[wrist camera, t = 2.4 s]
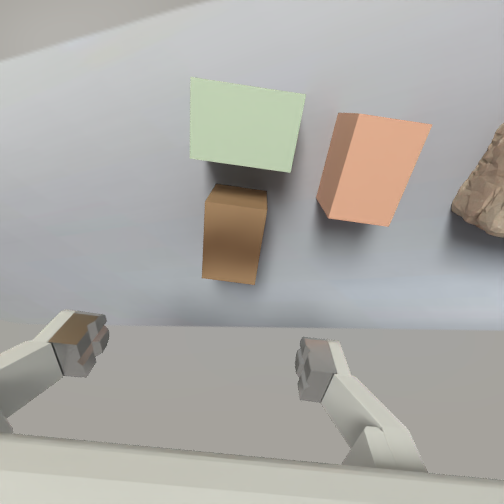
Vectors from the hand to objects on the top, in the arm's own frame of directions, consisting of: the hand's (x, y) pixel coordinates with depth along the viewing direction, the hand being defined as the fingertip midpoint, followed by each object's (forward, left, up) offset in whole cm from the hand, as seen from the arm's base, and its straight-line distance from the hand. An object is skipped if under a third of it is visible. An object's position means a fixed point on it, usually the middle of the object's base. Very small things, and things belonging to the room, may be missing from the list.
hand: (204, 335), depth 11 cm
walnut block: (0, 0, -13) cm, 13 cm away
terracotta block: (-8, -6, -13) cm, 16 cm away
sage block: (0, -7, -13) cm, 15 cm away
